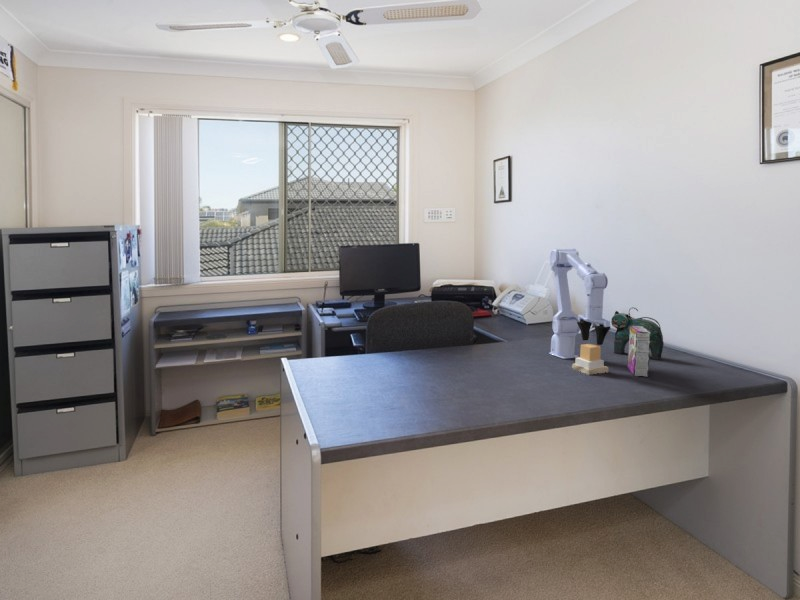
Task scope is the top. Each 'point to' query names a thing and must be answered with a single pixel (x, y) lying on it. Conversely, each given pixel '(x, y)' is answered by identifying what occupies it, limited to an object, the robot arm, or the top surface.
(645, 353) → the candy bar box
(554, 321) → the robot arm
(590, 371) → the maple base slab
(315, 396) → the top surface
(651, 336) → the ceramic cat
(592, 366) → the off-white slab
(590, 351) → the tan cube
